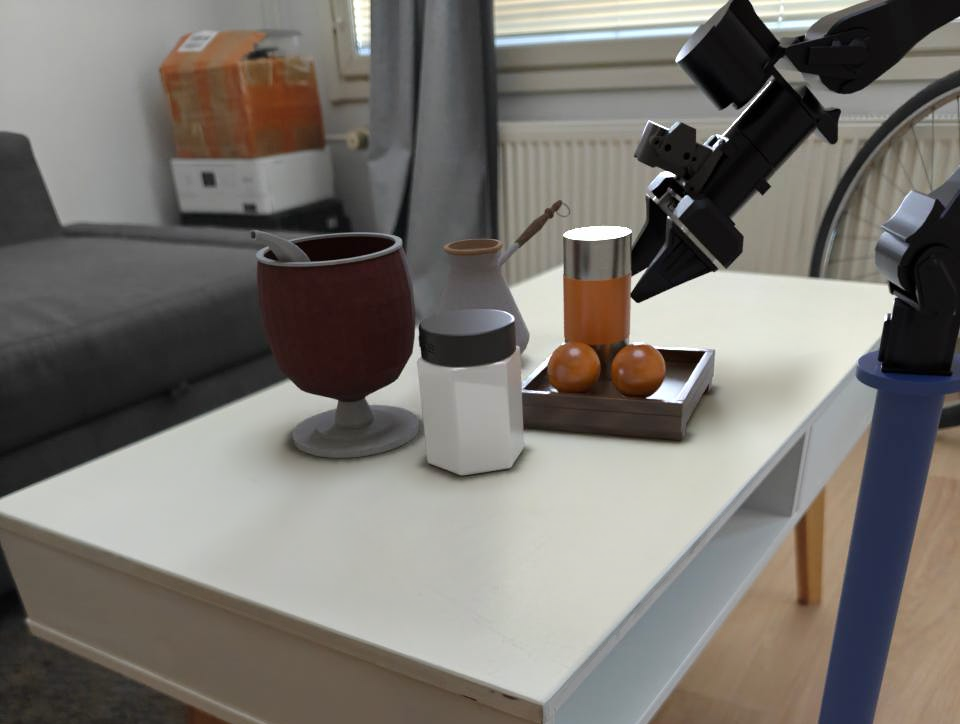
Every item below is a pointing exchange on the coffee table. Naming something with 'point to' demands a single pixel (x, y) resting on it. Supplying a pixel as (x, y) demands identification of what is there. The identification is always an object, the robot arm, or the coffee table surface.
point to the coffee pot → (487, 275)
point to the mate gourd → (340, 333)
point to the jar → (471, 390)
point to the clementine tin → (598, 290)
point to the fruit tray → (618, 390)
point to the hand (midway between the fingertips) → (626, 287)
